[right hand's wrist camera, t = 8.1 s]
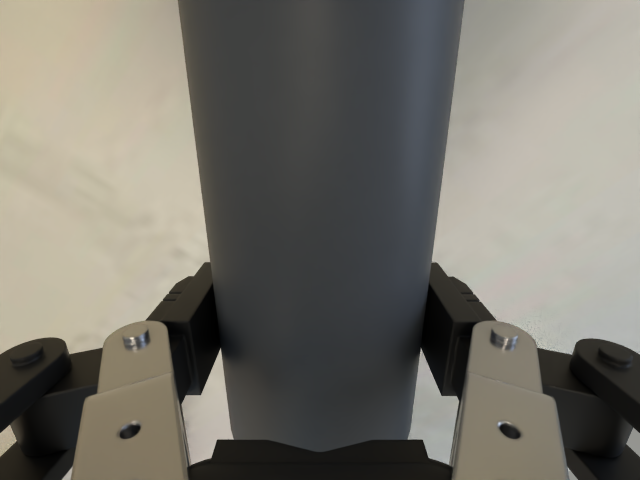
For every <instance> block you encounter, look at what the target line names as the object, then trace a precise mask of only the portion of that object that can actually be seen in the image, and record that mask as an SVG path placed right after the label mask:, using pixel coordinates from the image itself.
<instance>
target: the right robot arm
mask: <svg viewBox="0 0 640 480" xmlns="http://www.w3.org/2000/svg"><path fill="white" fill-rule="evenodd" d="M220 348H221V344H220V336H219V328H218V320H217V312H216V303H215V295H214V287H213V279H212V271H211V263H210V262H205V263H204V264H203V265H202V267H201V268H200V269H199V270H198V272H197V273H196V274H195V276H188V277H187V278H185V279H183V280H182V281H180V282H178V283H177V284H176V285H175V286H174V287H173V288H172V289H171V291H170V292H169V294H167V295H166V297H165V298H164V299H163V301H161V303H160V304H159V305H158V306H157V307H156V309H155V310H154V311H153V312H152V313H151V315H150V316H149V317H148V318H147V319H146V320H145V321H141V322H136V323H132V324H129V325H126V326H124V327H122V328H120V329H118V330H116V331H115V332H113V333H112V334H111V335H110V336H109V337H108V338H107V339H106V340H105V342H104V345H103V348H99V349H95V350H89V351H84V352H79V353H74V354H69V352H68V349H67V346H66V343H65V341H63V340H62V339H59V338H41V339H36V340H32V341H28V342H25V343H22V344H20V345H17V346H15V347H13V348H11V349H9V350H7V351H5V352H4V353H2V354H0V433H1V432H2V431H3V430H4V429H5V428H6V427H8V426H9V425H10V426H11V428H12V430H13V433H14V435H15V437H16V440H17V442H16V443H15V444H13V445H12V446H11V447H10V448H9V449H8V450H7V451H6V452H5V453H4V454H3V455H2V456H1V457H0V480H62V479H63V478H64V476H65V475H66V474H67V473H68V472H69V470H70V469H71V468H72V467H73V468H72V474H71V480H569V474H568V468H569V469H570V470H571V472H572V473H573V474H574V475H575V476H576V478H577V479H578V480H640V457H639V456H638V455H637V454H636V453H635V452H634V451H633V450H632V449H631V448H630V447H629V446H628V445H626V443H627V441H628V438H629V436H630V434H631V431H632V429H633V427H634V428H635V429H636V430H637V431H638V432H639V433H640V354H638V353H636V352H634V351H633V350H631V349H629V348H626V347H624V346H622V345H619V344H616V343H613V342H610V341H606V340H601V339H582V340H579V341H578V342H577V343H576V345H575V348H574V351H573V354H572V355H570V354H565V353H560V352H555V351H550V350H545V349H540V348H537V345H536V342H535V340H534V339H533V338H532V337H531V336H530V335H529V334H528V333H527V332H525V331H524V330H522V329H520V328H518V327H516V326H514V325H511V324H508V323H504V322H499V321H497V320H496V319H495V318H494V317H493V316H492V314H491V313H490V312H489V311H488V310H487V309H486V307H485V306H484V305H483V304H482V303H481V302H479V299H478V298H477V297H476V295H475V294H473V292H472V291H471V290H470V288H469V287H468V286H467V285H466V284H465V283H463V282H461V281H460V280H458V279H456V278H455V277H448V276H447V275H446V273H445V272H444V271H443V269H442V268H441V267H440V266H439V264H438V263H431V270H430V278H429V285H428V293H427V301H426V309H425V317H424V325H423V333H422V341H421V349H422V351H423V353H424V356H425V358H426V360H427V363H428V365H429V367H430V370H431V372H432V374H433V377H434V379H435V381H436V384H437V386H438V389H439V391H440V393H441V396H457V397H458V399H459V405H458V411H457V417H456V423H455V429H454V436H453V442H452V448H451V454H450V461H449V465H448V464H445V463H442V462H439V461H437V460H433V459H430V458H428V455H427V452H426V449H425V445H424V442H423V440H369V441H365V442H361V443H357V444H353V445H349V446H345V447H341V448H337V449H333V450H329V451H325V452H315V451H311V450H307V449H303V448H299V447H295V446H291V445H287V444H283V443H279V442H275V441H271V440H217V442H216V445H215V449H214V452H213V455H212V458H211V459H207V460H203V461H201V462H198V463H195V464H192V465H191V461H190V454H189V448H188V442H187V436H186V429H185V423H184V417H183V411H182V405H181V404H182V402H183V400H184V398H185V396H186V395H201V393H202V391H203V389H204V386H205V384H206V382H207V379H208V377H209V374H210V372H211V370H212V367H213V365H214V362H215V360H216V358H217V355H218V353H219V350H220ZM567 467H568V468H567Z"/></svg>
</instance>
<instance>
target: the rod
mask: <svg viewBox="0 0 640 480" xmlns="http://www.w3.org/2000/svg"><path fill="white" fill-rule="evenodd" d="M464 1H465V0H178V5H179V13H180V21H181V29H182V37H183V45H184V53H185V62H186V70H187V78H188V86H189V94H190V102H191V110H192V118H193V126H194V134H195V142H196V150H197V158H198V166H199V174H200V182H201V191H202V199H203V207H204V215H205V223H206V231H207V239H208V247H209V255H210V263H211V271H212V279H213V287H214V295H215V303H216V312H217V320H218V328H219V336H220V344H221V352H222V360H223V368H224V376H225V384H226V392H227V400H228V408H229V416H230V424H231V431H232V434H233V438H234V440H271V441H275V442H279V443H283V444H287V445H291V446H295V447H299V448H303V449H307V450H311V451H315V452H325V451H329V450H333V449H337V448H341V447H345V446H349V445H353V444H357V443H361V442H365V441H369V440H407V439H408V436H409V432H410V428H411V420H412V412H413V404H414V396H415V388H416V380H417V372H418V365H419V357H420V349H421V341H422V333H423V325H424V317H425V309H426V301H427V293H428V285H429V278H430V270H431V262H432V254H433V246H434V238H435V230H436V222H437V214H438V206H439V198H440V191H441V183H442V175H443V167H444V159H445V151H446V143H447V135H448V127H449V119H450V111H451V104H452V96H453V88H454V80H455V72H456V64H457V56H458V48H459V40H460V32H461V25H462V17H463V9H464Z"/></svg>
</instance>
